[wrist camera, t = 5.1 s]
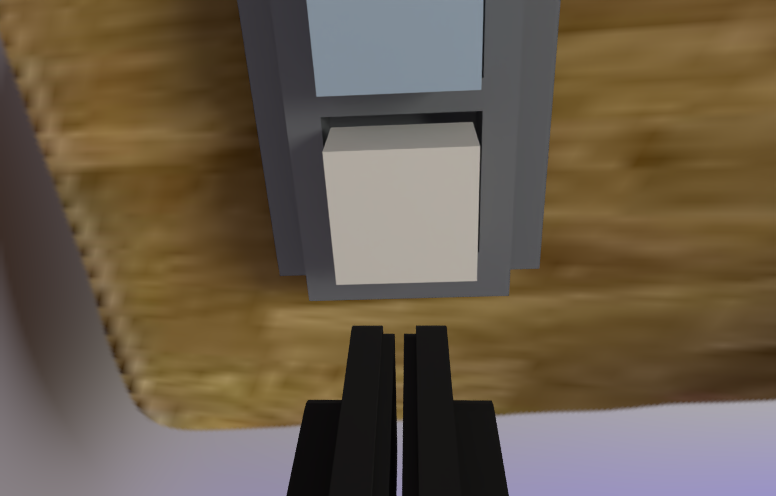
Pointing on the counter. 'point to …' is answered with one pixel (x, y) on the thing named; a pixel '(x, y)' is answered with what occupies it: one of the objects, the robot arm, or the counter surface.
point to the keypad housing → (482, 107)
